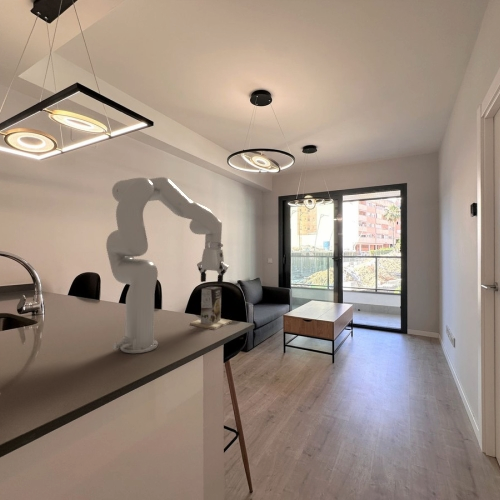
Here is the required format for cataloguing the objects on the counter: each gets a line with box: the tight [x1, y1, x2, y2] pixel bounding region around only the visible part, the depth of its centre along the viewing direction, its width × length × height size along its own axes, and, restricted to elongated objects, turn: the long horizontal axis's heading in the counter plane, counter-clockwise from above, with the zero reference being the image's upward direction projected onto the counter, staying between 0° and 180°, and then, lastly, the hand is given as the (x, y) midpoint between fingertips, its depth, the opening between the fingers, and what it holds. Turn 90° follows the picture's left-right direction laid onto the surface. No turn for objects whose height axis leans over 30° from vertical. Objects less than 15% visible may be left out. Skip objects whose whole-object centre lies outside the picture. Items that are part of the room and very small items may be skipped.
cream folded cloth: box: [189, 318, 233, 330], centre depth 136 cm, size 14×14×1 cm
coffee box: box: [200, 286, 222, 325], centre depth 136 cm, size 9×6×16 cm
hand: (211, 282), depth 135 cm, fingers open, 9 cm apart
